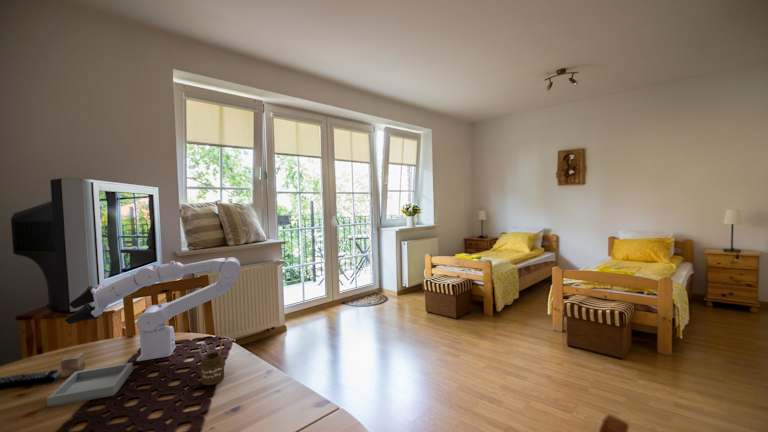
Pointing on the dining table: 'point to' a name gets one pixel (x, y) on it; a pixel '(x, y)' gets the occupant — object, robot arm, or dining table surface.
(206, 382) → the utensil holder
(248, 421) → the dining table surface
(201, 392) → the dining table surface
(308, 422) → the dining table surface
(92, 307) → the robot arm
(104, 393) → the tray
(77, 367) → the walnut block
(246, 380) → the dining table surface
